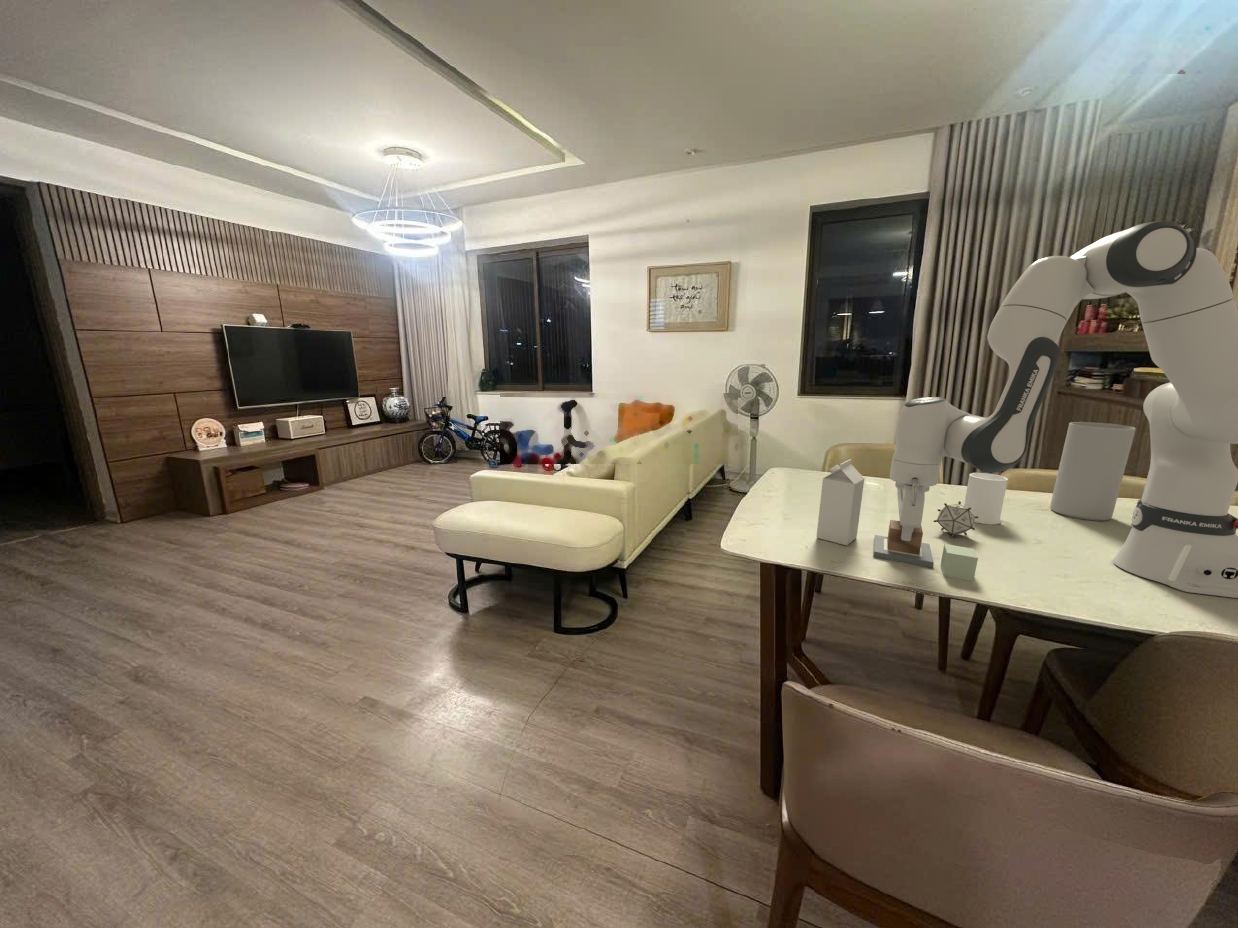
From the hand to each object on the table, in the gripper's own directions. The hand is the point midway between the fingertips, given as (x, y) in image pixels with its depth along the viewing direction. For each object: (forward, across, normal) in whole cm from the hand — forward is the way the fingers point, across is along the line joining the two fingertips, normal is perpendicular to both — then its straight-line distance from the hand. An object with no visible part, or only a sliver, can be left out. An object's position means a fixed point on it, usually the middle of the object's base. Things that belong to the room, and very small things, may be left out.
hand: (904, 533), depth 103 cm
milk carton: (+5, +2, +14) cm, 15 cm away
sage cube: (+5, -6, -9) cm, 12 cm away
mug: (+5, +37, -20) cm, 43 cm away
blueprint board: (+5, 0, 0) cm, 5 cm away
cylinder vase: (+5, +55, -44) cm, 71 cm away
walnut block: (+3, 0, 0) cm, 3 cm away
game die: (+5, +19, -11) cm, 23 cm away
